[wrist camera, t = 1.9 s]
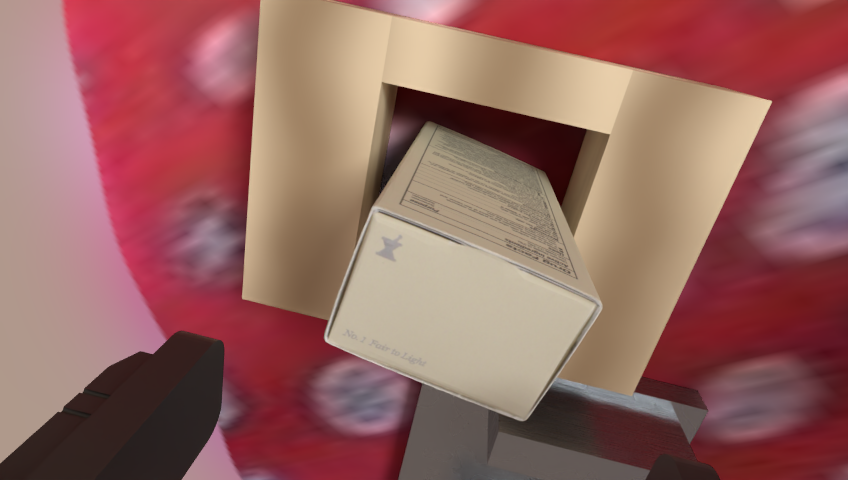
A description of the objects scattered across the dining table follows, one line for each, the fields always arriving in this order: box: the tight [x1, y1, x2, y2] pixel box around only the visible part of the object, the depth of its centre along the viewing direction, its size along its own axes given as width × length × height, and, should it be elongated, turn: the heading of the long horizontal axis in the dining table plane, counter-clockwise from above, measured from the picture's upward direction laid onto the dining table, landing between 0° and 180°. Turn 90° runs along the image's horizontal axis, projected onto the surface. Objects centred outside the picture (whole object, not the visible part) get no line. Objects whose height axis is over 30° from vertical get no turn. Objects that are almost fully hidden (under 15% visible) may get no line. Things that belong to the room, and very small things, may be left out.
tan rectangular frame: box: [242, 0, 772, 396], centre depth 22 cm, size 18×13×4 cm
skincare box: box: [324, 121, 603, 421], centre depth 18 cm, size 6×4×12 cm
